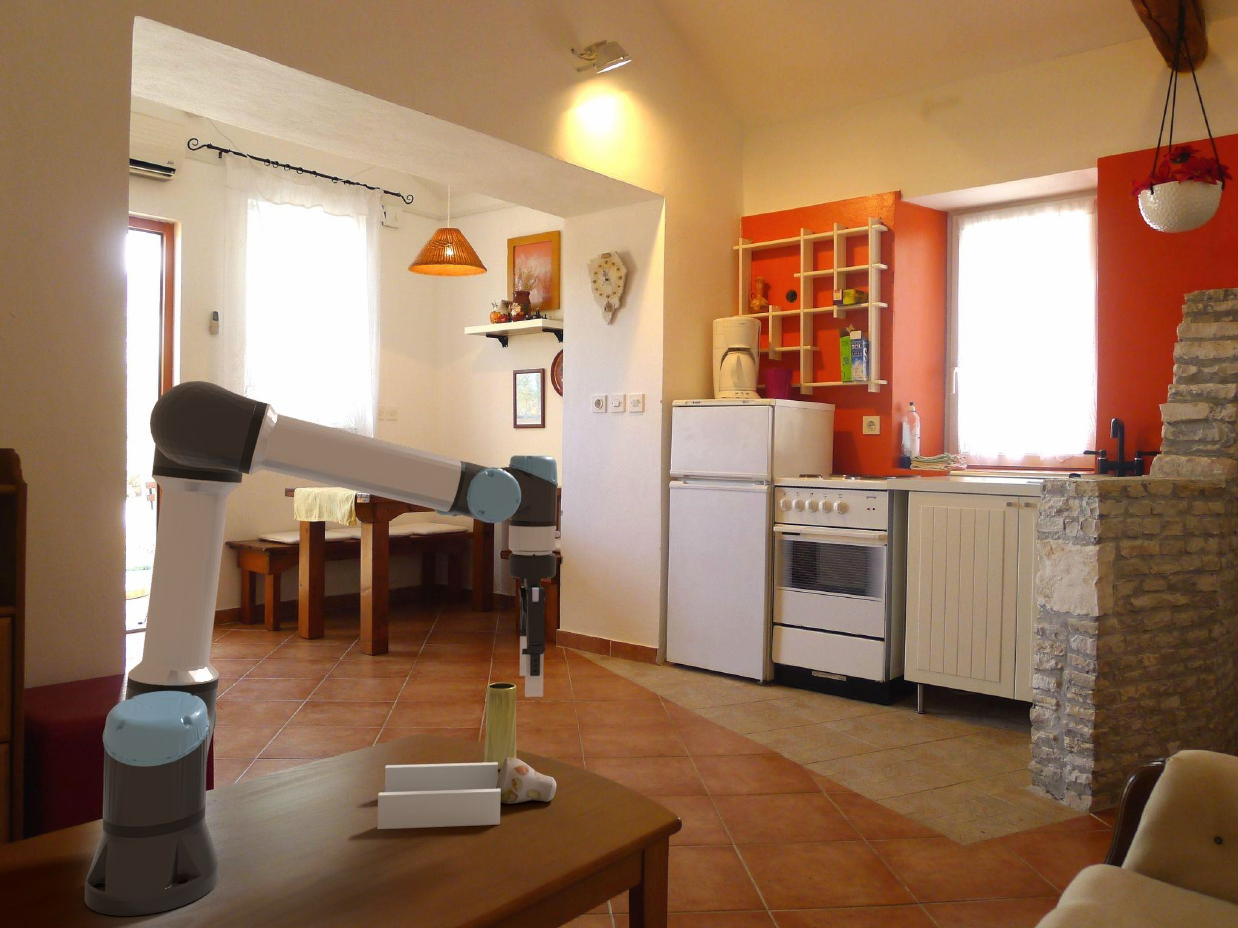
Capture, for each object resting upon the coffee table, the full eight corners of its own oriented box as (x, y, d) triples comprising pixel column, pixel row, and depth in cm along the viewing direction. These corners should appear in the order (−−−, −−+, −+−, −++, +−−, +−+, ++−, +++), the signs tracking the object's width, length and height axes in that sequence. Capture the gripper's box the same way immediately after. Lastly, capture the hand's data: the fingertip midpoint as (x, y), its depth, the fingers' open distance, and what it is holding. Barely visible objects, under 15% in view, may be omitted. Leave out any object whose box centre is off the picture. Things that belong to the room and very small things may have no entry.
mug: (563, 809, 148) (536, 759, 145) (508, 833, 148) (480, 785, 146) (562, 781, 155) (536, 734, 153) (509, 805, 155) (482, 758, 153)
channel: (377, 828, 137) (378, 795, 137) (385, 795, 151) (386, 765, 151) (499, 824, 140) (500, 791, 140) (496, 792, 154) (497, 762, 154)
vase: (478, 768, 165) (480, 688, 165) (488, 757, 171) (490, 680, 171) (511, 771, 164) (513, 690, 164) (520, 760, 170) (522, 682, 170)
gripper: (564, 560, 136) (562, 705, 136) (549, 544, 161) (547, 667, 161) (513, 560, 135) (511, 706, 135) (505, 544, 159) (503, 668, 160)
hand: (530, 685), depth 148 cm, fingers open, 13 cm apart
